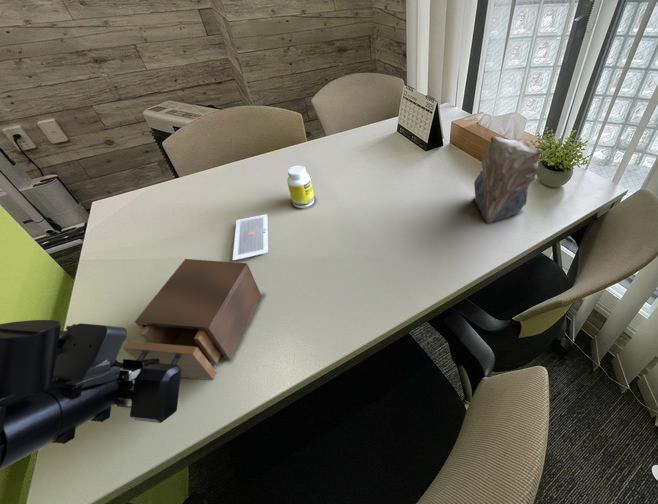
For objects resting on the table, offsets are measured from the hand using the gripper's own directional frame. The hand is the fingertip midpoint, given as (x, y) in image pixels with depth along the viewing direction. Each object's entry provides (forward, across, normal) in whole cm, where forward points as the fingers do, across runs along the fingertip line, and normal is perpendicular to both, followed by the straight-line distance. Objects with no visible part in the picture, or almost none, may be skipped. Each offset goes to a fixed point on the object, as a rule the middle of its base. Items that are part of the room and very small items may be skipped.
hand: (157, 361), depth 50 cm
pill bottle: (+43, -5, -29) cm, 52 cm away
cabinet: (+14, 0, -2) cm, 14 cm away
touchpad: (+31, +3, -18) cm, 36 cm away
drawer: (+9, 0, +2) cm, 9 cm away
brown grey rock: (+44, -59, -30) cm, 80 cm away
